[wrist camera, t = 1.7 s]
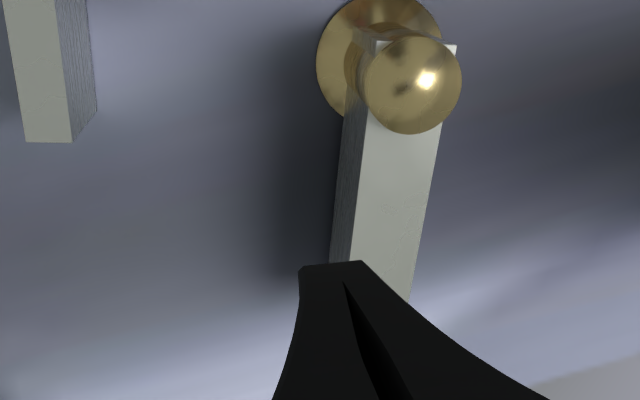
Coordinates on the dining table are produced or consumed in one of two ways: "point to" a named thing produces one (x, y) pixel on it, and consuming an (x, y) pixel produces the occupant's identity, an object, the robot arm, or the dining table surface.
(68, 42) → the bracket
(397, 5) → the pivot plate
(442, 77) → the bar
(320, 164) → the dining table surface
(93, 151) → the dining table surface
